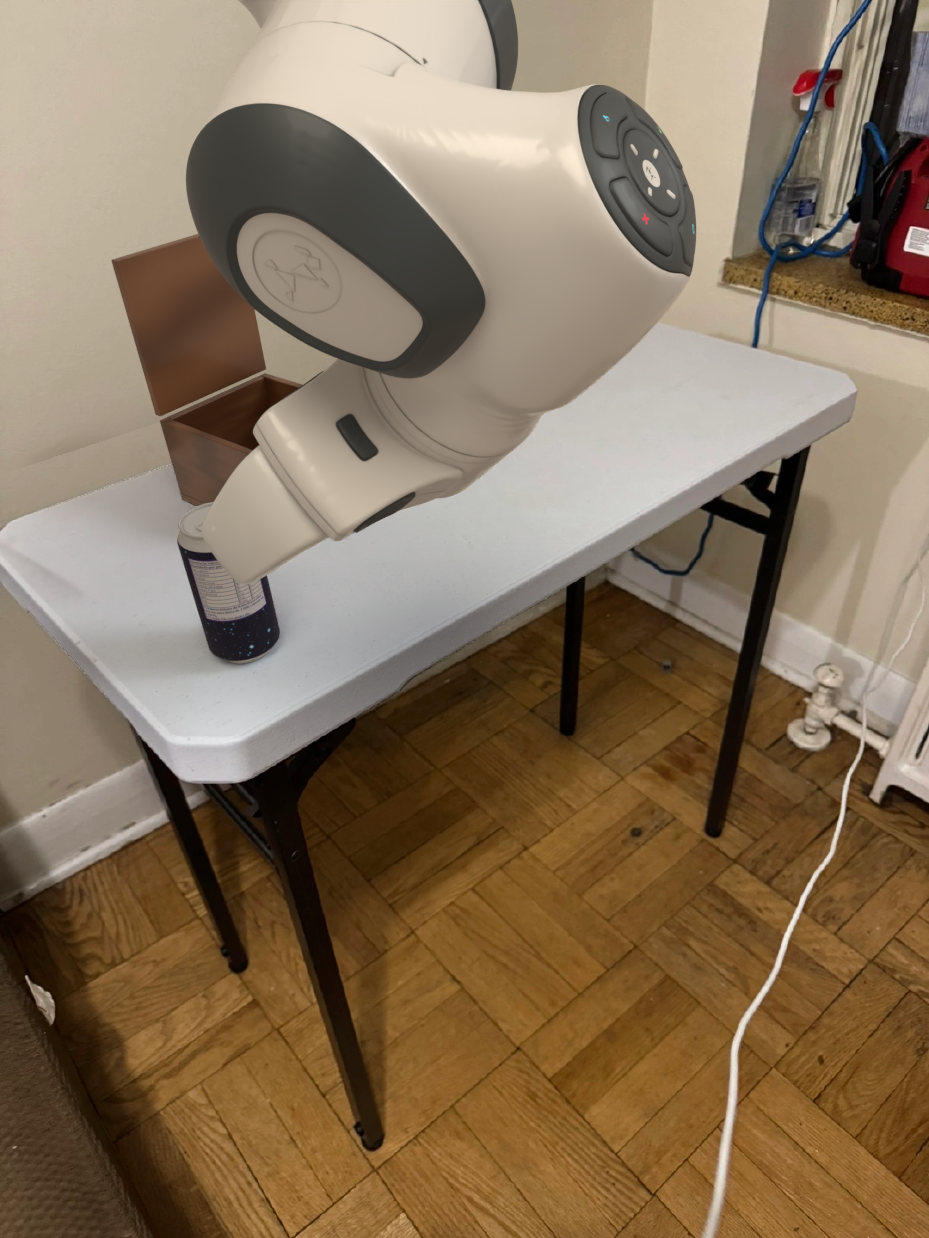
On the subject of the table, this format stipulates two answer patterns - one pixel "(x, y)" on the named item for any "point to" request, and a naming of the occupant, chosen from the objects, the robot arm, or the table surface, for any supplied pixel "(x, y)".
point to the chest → (219, 435)
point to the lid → (186, 323)
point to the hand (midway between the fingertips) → (319, 517)
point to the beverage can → (226, 598)
